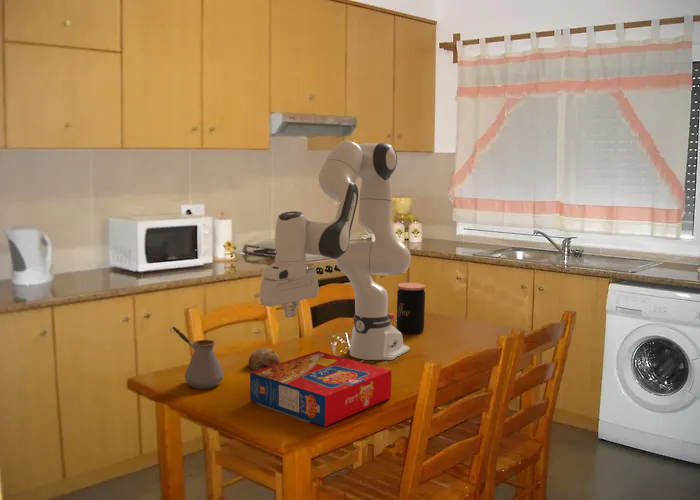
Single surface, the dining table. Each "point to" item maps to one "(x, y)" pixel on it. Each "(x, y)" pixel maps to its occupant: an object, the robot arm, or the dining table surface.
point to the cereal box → (320, 387)
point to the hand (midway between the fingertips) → (290, 316)
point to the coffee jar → (410, 308)
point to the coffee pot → (202, 364)
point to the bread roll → (263, 359)
